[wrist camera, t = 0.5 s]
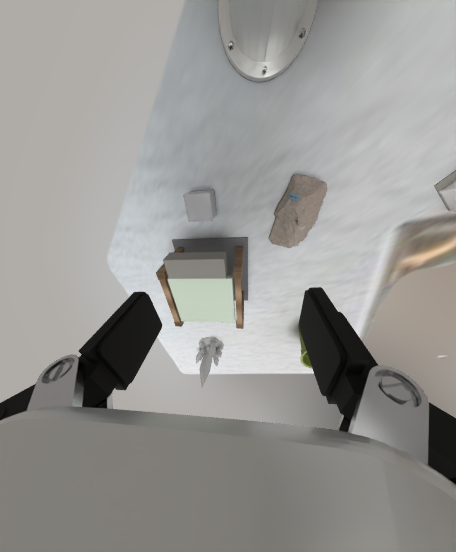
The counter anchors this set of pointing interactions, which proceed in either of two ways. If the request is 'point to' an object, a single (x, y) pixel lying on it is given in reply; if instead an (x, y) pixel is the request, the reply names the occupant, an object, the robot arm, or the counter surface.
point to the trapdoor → (201, 286)
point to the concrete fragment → (298, 210)
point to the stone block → (200, 205)
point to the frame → (239, 293)
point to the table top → (221, 246)
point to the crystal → (208, 355)
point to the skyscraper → (448, 191)
